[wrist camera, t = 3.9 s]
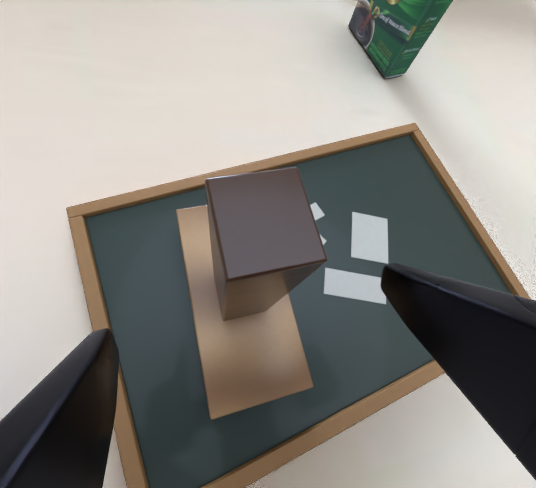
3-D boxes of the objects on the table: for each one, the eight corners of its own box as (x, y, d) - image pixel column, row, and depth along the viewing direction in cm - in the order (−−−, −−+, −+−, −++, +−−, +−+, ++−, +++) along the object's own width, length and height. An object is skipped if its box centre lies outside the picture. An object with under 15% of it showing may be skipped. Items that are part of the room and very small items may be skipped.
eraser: (300, 381, 17) (461, 450, 6) (212, 409, 16) (189, 565, 4) (257, 214, 20) (303, 45, 9) (181, 226, 19) (123, 49, 8)
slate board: (144, 534, 14) (139, 547, 13) (73, 214, 19) (65, 207, 18) (529, 318, 21) (543, 316, 20) (408, 130, 26) (415, 122, 25)
